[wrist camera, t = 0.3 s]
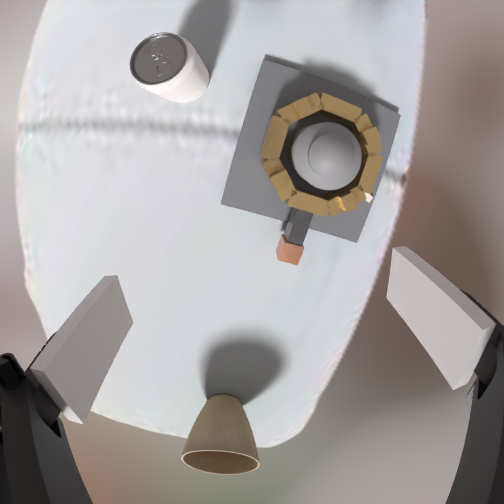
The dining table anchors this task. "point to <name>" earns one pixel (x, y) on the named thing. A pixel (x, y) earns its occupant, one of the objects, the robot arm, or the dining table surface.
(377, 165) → the ring nut
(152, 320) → the dining table surface
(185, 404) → the dining table surface
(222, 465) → the plant pot
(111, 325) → the robot arm
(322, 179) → the base
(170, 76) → the can
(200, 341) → the dining table surface
